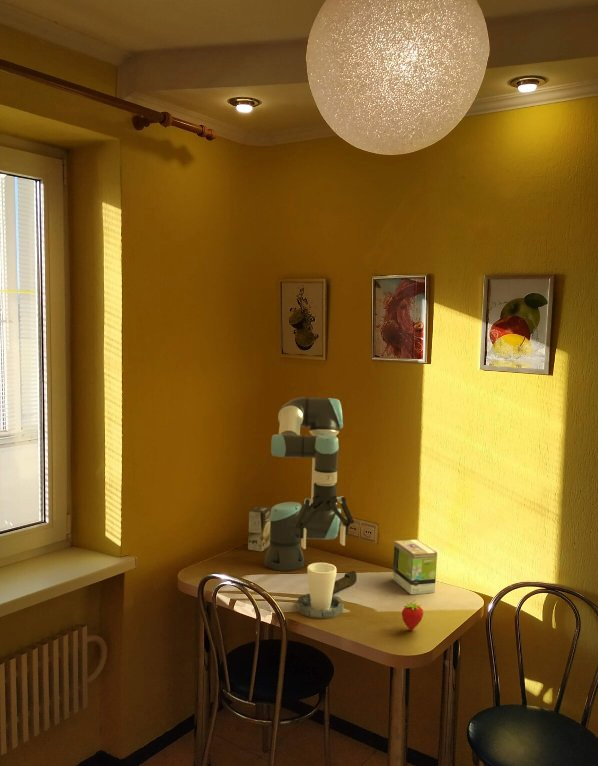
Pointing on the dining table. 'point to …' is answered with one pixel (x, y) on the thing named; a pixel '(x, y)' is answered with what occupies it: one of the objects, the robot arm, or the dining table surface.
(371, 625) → the dining table surface
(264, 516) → the coffee box
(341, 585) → the hand tool
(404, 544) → the tea box
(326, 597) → the foam cup
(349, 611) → the dining table surface
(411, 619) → the strawberry
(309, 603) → the grey shallow round dish
